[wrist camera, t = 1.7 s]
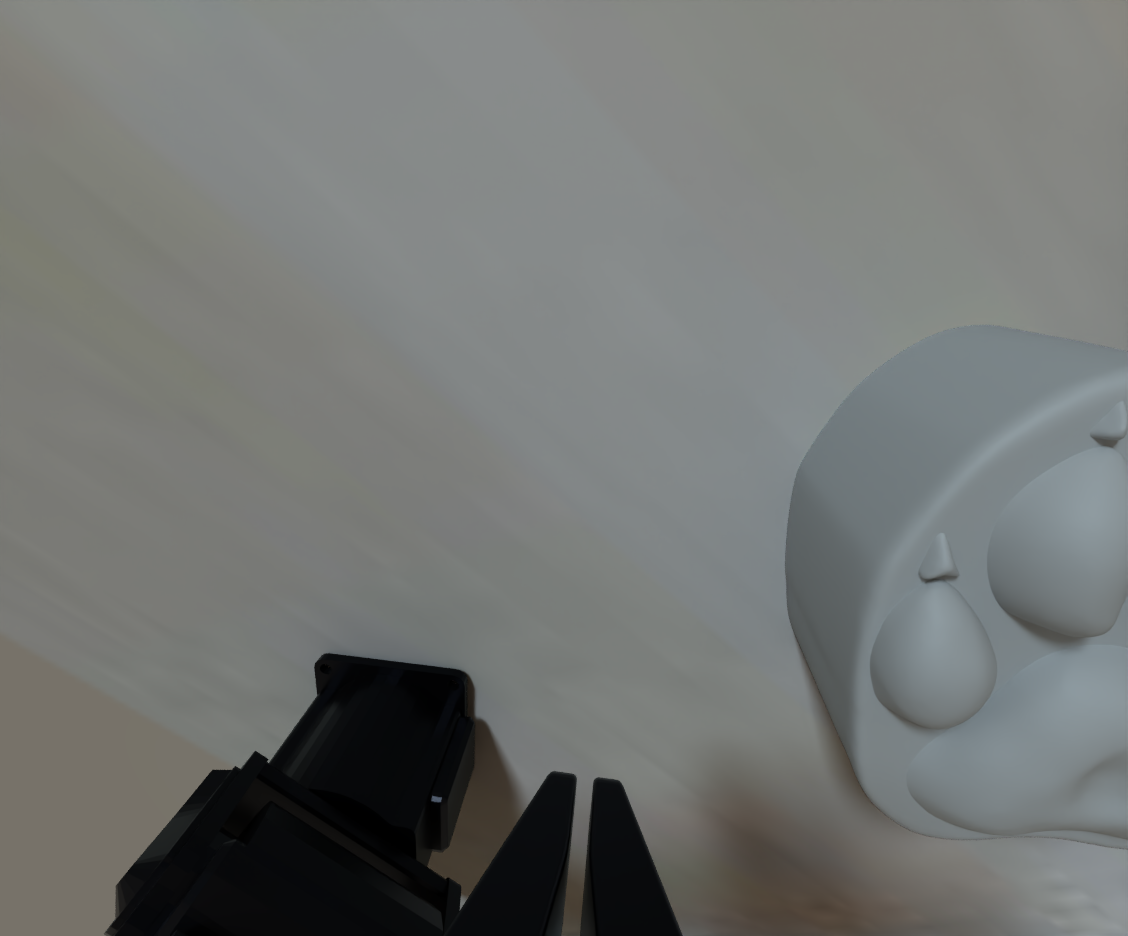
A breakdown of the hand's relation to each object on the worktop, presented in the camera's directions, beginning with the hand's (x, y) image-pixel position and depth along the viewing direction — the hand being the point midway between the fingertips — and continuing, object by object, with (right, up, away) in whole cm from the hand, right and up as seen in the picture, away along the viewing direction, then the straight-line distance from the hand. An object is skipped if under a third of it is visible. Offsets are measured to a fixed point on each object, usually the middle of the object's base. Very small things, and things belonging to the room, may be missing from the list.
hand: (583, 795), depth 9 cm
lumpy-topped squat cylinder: (+13, +3, +11) cm, 18 cm away
